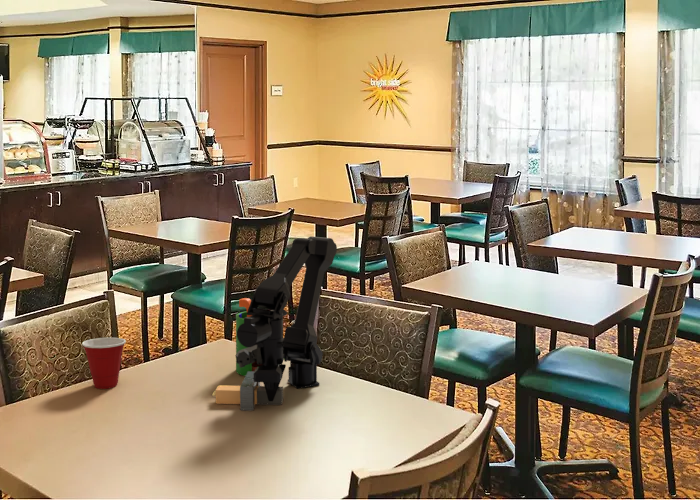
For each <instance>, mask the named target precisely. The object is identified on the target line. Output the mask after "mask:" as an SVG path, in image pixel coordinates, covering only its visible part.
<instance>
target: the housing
mask: <svg viewBox="0 0 700 500" xmlns="http://www.w3.org/2000/svg"><path fill="white" fill-rule="evenodd" d="M239 386H240V404H239V405H240V408H239V409H240V411H254V409H255V405H256V404H255V396H254V388H255V386H261V382H254V371H248V372H247V374H246V376H244V378H243V380H242V382H241V384H240V385H239Z"/></svg>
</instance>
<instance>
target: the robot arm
mask: <svg viewBox="0 0 700 500" xmlns="http://www.w3.org/2000/svg"><path fill="white" fill-rule="evenodd" d="M337 248H338V247H337V244H336V243H335V241H334V239H333V238H332V237H331V238H330V237H320V236H308V237H307V238H306V237H304V238H303V237H297V238H294V240H293V241H292V245H291V247H290V249H289V250H288V252H287V253H286V255H285V256H284V258H283V259H282V261H281V263H280V264H279V266H278V267H277V268H276V270H275V271H274V273H273V274H272V275H270V276H269V277H267V278H264V279H263V280H262V281H261V283H260V284H259V285H258V286H257V287H256V289H255V290H254V293H253V295H252V298H251V299H250V300H251V303H250V306H249V309H248V311H247V310H246V311H247V315H251V316H250V317H246V318H244V323H243V324H241V325H240V326H239V328H238V331H237V338H238V340H239V342H240V343H241V344H242V345H243V346H245V347H248V348H245V349H242V350H239V351H238V352H237V354H236V353H235V355H234V356H235V364H236V363H237V364H239V367H240V368H242V367H245V365H248V364H251V363H254V362H256V361H257V364H262V366H258V367H257V368H256V369H255V372H254V382H260V383H263V386H265V390H266V393H267V397H268V401H273V400H274V397H275V395H276V392H277V389H278V387H280V384H281V381H282V379H283V376H284V372H285V369H286V366H287V364H283V363H284V362H285V363H286V362H289V366H288V379H287V383H289V384H290V385H292V386H293V387H294V388H295V389H304V388H309V387H315V386H320V382H319V381H318V374H317V372H318V371H317V370H318V369H317V368H318V367H317V366H318V365H320V364H321V362H322V359H323V355H324V354H323V351H322V349H320V347H319V345H318V344H317V342H318V335H317V333H316V330H315V326H314V324H315V320H316V315H317V314H316V313H317V311H318V306H319V305H318V304H319V299H320V295H321V290H322V285H323V281H324V276H325V272H326V271H327V270H329V268H330V267H331V266H332V265H333V262H334V259H335V256H336V254H337V250H338V249H337ZM304 265H305V272H304V277H303V282H302V286H301V291H300V296H299V302H298V306H297V311H296V314H295V315H296V316H295V320H294V322H293V324H292V325H291V326H286V328H285V329H284V317H285V316H286V315H288V312H287V311H286V310H285V308H286V306H288V305H287V304H288V301H289V300H290V297H291V286H292V284H293V282H294V281H295V279H296V277H297V276H298V274H300V271H301V270H302V268H303V267H304Z"/></svg>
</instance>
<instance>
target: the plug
mask: <svg viewBox="0 0 700 500" xmlns="http://www.w3.org/2000/svg"><path fill="white" fill-rule="evenodd" d="M240 386H241V385H221V384H220V385H218V386H217V387H216V389H215V390H214V391H213V393H212V394H211V396H212V397H215V404H218V405H219V404H220V405H221V404H222V405H223V404H225V405H226V404H227V405H240ZM254 396H255V405H268V406H269V405H275V406H276V405H277V406H278V405H279V406H280V405H283V402H284V386H279V387H278V389H277V392H276V395H275V397H274V400H273V401H268V397H267V393H266V390H265V386H264V385H263V386H262V385H260V386H255V388H254Z"/></svg>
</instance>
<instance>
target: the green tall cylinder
mask: <svg viewBox="0 0 700 500" xmlns="http://www.w3.org/2000/svg"><path fill="white" fill-rule="evenodd" d="M251 300H252V299H250V298H249V297H248V298H247V297H244V298H243V297H242V298H240V299H239V300H238V301H239V302H238V307H239V308H245V309H246V311H241V312H238V313H236V314H235V355H236V354H237V352H238V351H239V350H242V349H245V348H248V347H245V346H243V345H242V344H241V343H240V342H239V340H238V338H237V331H238V328H239V326H240V325H241V324H243V323H244V318H246V317H250V316H251V315H247V311H248V309H249V306H250V303H251ZM258 366H262V364H257V361H256V362H254V363H251V364H248V365H245V367H242V368H240V367H239V364H237V363H236V362H235V372H236V373H237V374H238V375H239V376H244V377H245V376H246V374H247V372H248V371H254V372H255V369H256V368H257V367H258Z"/></svg>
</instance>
